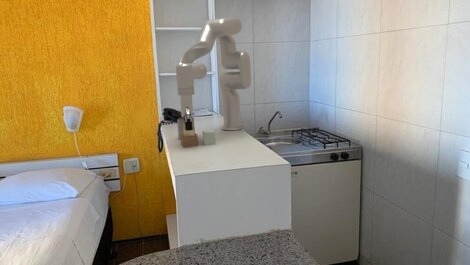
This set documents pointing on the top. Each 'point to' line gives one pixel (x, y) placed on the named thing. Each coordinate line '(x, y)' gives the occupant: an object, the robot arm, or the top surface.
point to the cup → (180, 126)
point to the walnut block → (189, 140)
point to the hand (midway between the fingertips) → (188, 128)
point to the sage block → (209, 137)
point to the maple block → (188, 133)
